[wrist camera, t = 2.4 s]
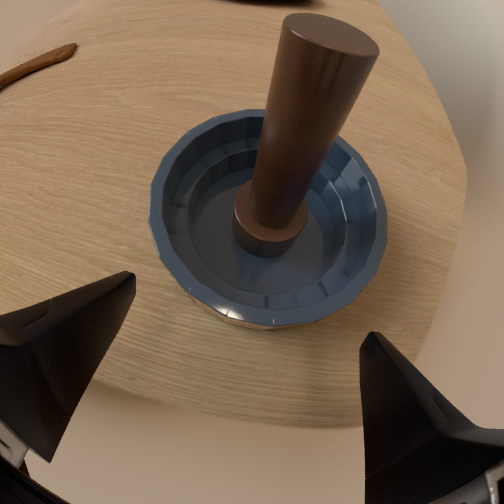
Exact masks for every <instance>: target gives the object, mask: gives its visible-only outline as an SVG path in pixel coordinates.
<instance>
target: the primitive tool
mask: <svg viewBox="0 0 504 504" xmlns="http://www.w3.org/2000/svg"><path fill="white" fill-rule="evenodd" d="M75 47H76V43H72V44H68V45H64V46H63V47H60V48H57V49H55V50H52V51H50V52H47V53H45V54H42V55H40V56H38V57H36V58H33V59H32V60H30V61H28V62H25V63H23V64H21V65H19V66H17V67H15V68H13V69H11V70H9V71H7V72H5V73H3V74H1V75H0V87H2V86H4V85H5V84H7V83H10V82H12V81H14V80H18V79H19V78H20V77H22V76H23V75H25V74H28V73H30V72H32V71H34V70H37V69H40V68H43V67H45V66H47V65H51V64H54V63H56V62H60V61H63V60H65V59H67V58H69V57H70V56H71V54H72V52H73V51H74V49H75Z"/></svg>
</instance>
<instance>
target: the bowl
mask: <svg viewBox="0 0 504 504" xmlns="http://www.w3.org/2000/svg"><path fill="white" fill-rule="evenodd" d="M265 110H266V109H246V110H241V111H236V112H232V113H228V114H224V115H220V116H216V117H213V118H211V119H209V120H207V121H205V122H203V123H202V124H200V125H198V126H196V127H194V128H193V129H191V130H189V131H187V133H185V134H184V135H183V136H182V138H181V139H180V140H179V141H178V142H177V143H176V144H175V145H174V146H173V147H172V148H171V149H170V150H169V151H168V152H167V153H166V154H165V156H164V157H163V159H162V161H161V163H160V166H159V168H158V170H157V172H156V174H155V176H154V179H153V181H152V183H151V187H150V199H149V215H148V220H149V221H148V223H149V226H150V230H151V233H152V236H153V239H154V243H155V246H156V249H157V252H158V255H159V258H160V260H161V261H162V262H163V264H164V265H165V266H166V267H167V269H168V270H169V271H170V273H171V274H172V275H173V277H174V278H175V279H176V280H177V282H178V283H179V284H180V285H181V287H182V288H183V289H184V290H185V292H186V293H187V294H188V295H189V296H190V298H191V299H192V300H193V301H194V303H196V304H197V305H198V306H200V307H201V308H203V309H204V310H206V311H207V312H209V313H211V314H212V315H214V316H216V317H217V318H219V319H221V320H222V321H224V322H226V323H229V324H234V325H238V326H242V327H247V328H251V329H256V330H268V329H277V328H285V327H293V326H298V325H303V324H307V323H312V322H316V321H319V320H320V319H322V318H324V317H326V316H328V315H330V314H332V313H334V312H336V311H338V310H339V309H341V308H343V307H345V306H347V305H349V304H350V303H351V302H353V301H354V300H355V298H356V297H357V296H358V295H359V294H360V293H361V292H362V290H363V289H364V288H365V287H366V286H367V285H368V283H369V282H370V281H371V280H372V279H373V277H374V276H375V274H376V272H377V270H378V267H379V264H380V261H381V259H382V256H383V253H384V250H385V247H386V244H387V211H386V207H385V203H384V200H383V197H382V194H381V191H380V188H379V185H378V182H377V179H376V178H375V176H374V174H373V173H372V171H371V170H370V168H369V167H368V165H367V164H366V162H365V161H364V159H363V158H362V157H361V155H360V154H359V153H358V152H357V151H356V150H355V149H354V148H353V147H351V146H350V145H349V144H348V143H347V142H346V141H345V140H344V139H342V138H341V137H340V136H339V135H338V136H337V138H336V140H335V142H334V144H333V146H332V147H331V149H330V151H329V153H328V155H327V157H326V159H325V161H324V162H323V164H322V166H321V168H320V170H319V172H318V174H317V176H316V177H315V179H314V181H313V183H312V185H311V187H310V189H309V190H308V192H307V194H306V196H305V199H306V201H307V205H308V219H307V222H306V225H305V227H304V228H303V230H302V231H301V232H300V234H299V235H298V237H297V238H296V240H295V241H294V243H293V244H292V246H291V247H290V248H289V249H288V250H287V251H285V252H284V253H282V254H280V255H278V256H275V257H259V256H255V255H253V254H250V253H249V252H247V251H246V250H244V249H243V248H242V247H241V246H240V245H239V244H238V242H237V240H236V239H235V236H234V233H233V227H232V224H233V211H234V201H235V197H236V194H237V192H238V191H239V189H240V188H241V187H242V186H243V185H244V184H245V183H246V182H248V181H249V180H251V179H253V173H254V168H255V163H256V157H257V152H258V146H259V141H260V136H261V131H262V125H263V120H264V115H265Z"/></svg>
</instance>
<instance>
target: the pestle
mask: <svg viewBox="0 0 504 504" xmlns="http://www.w3.org/2000/svg"><path fill="white" fill-rule="evenodd" d="M378 56H379V47H378V45H377V44H376V43H375V42H374V41H373V40H372V39H371V38H370V37H369V36H368V35H366V34H365V33H364V32H362V31H361V30H359V29H357V28H355V27H353V26H352V25H349V24H347V23H345V22H343V21H340V20H337V19H334V18H331V17H327V16H323V15H318V14H311V13H295V14H290V15H288V16H286V17H285V18H284V20H283V24H282V29H281V34H280V39H279V44H278V49H277V54H276V59H275V64H274V69H273V74H272V79H271V84H270V89H269V94H268V99H267V104H266V110H265V115H264V120H263V125H262V131H261V136H260V141H259V146H258V152H257V157H256V163H255V168H254V173H253V179H251V180H249V181H248V182H246V183H245V184H244V185H243V186H242V187H241V188H240V189H239V191H238V192H237V194H236V197H235V201H234V211H233V224H232V227H233V233H234V236H235V239H236V240H237V242H238V244H239V245H240V246H241V247H242V248H243V249H244V250H246V251H247V252H249V253H250V254H253V255H255V256H259V257H275V256H278V255H280V254H282V253H284V252H285V251H287V250H288V249H289V248H290V247H291V246H292V244H293V243H294V241H295V240H296V238H297V237H298V235H299V234H300V232H301V231H302V230H303V228H304V227H305V225H306V222H307V219H308V205H307V201H306V199H305V196H306V194H307V192H308V190H309V189H310V187H311V185H312V183H313V181H314V179H315V177H316V176H317V174H318V172H319V170H320V168H321V166H322V164H323V162H324V161H325V159H326V157H327V155H328V153H329V151H330V149H331V147H332V146H333V144H334V142H335V140H336V138H337V136H338V134H339V132H340V130H341V128H342V126H343V125H344V123H345V121H346V119H347V117H348V115H349V113H350V111H351V109H352V107H353V105H354V103H355V101H356V99H357V97H358V95H359V93H360V91H361V90H362V88H363V86H364V84H365V82H366V80H367V78H368V76H369V74H370V72H371V70H372V68H373V66H374V64H375V62H376V60H377V58H378Z"/></svg>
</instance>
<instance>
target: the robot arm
mask: <svg viewBox="0 0 504 504" xmlns="http://www.w3.org/2000/svg"><path fill="white" fill-rule="evenodd" d="M135 294H136V276H135V274H134V273H131V272H128V271H123V272H120V273H117V274H115V275H112V276H109V277H107V278H104V279H101V280H98V281H96V282H93V283H90V284H88V285H85V286H82V287H80V288H77V289H74V290H72V291H69V292H66V293H64V294H61V295H59V296H56V297H53V298H51V300H50V299H48V300H46V301H43V302H40V303H38V304H35V305H32V306H29V307H26V308H23V309H20V310H17V311H13V312H10V313H7V314H3V315H0V504H70V503H68V502H67V501H65V500H63V499H62V498H60V497H58V496H57V495H55V494H54V493H52V492H50V491H49V490H47V489H46V488H44V487H43V486H41V485H40V484H38V483H37V482H36V481H34V480H33V479H31V478H30V475H29V472H28V470H27V467H26V463H25V460H24V457H25V455H26V453H27V451H28V449H30V450H31V451H32V452H34V453H35V454H36V455H38V456H39V457H41V458H42V459H44V460H45V461H47V462H48V463H50V462H51V461H52V458H53V456H54V454H55V452H56V449H57V447H58V445H59V443H60V440H61V438H62V436H63V434H64V432H65V430H66V428H67V425H68V423H69V421H70V419H71V417H72V415H73V413H74V411H75V409H76V407H77V405H78V403H79V401H80V399H81V397H82V395H83V393H84V391H85V390H86V388H87V386H88V384H89V382H90V380H91V378H92V377H93V375H94V373H95V371H96V369H97V368H98V366H99V364H100V362H101V360H102V359H103V357H104V355H105V354H106V352H107V350H108V348H109V347H110V345H111V343H112V342H113V340H114V338H115V337H116V335H117V333H118V331H119V330H120V328H121V326H122V323H123V321H124V319H125V317H126V315H127V313H128V310H129V308H130V306H131V304H132V302H133V300H134V298H135ZM359 359H360V392H361V402H362V414H363V428H364V446H365V478H366V479H365V504H504V429H486V428H481V427H478V426H476V425H475V424H473V423H472V422H471V421H470V420H469V419H468V418H466V417H465V416H464V415H463V414H462V413H461V412H460V411H459V410H458V409H457V408H456V407H454V406H453V405H452V404H451V403H450V402H449V401H448V400H447V399H446V398H445V397H444V396H443V395H442V394H441V393H440V392H439V391H438V390H437V389H436V388H435V387H434V386H433V385H432V384H431V383H430V382H429V381H428V380H427V379H426V378H425V377H424V376H423V375H422V374H421V373H420V372H419V370H418V369H417V368H416V367H415V366H414V365H413V364H412V363H411V362H410V361H409V360H408V359H407V358H406V357H405V356H404V355H403V354H402V353H401V352H400V351H399V350H398V349H396V348H395V347H394V346H393V345H392V344H391V343H390V342H389V341H388V340H387V339H386V338H385V337H384V336H383V335H382V334H381V333H380V332H374V331H371V332H370V333H369V334H368V335H367V337H366V338H365V340H364V342H363V343H362V345H361V347H360V350H359Z"/></svg>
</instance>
